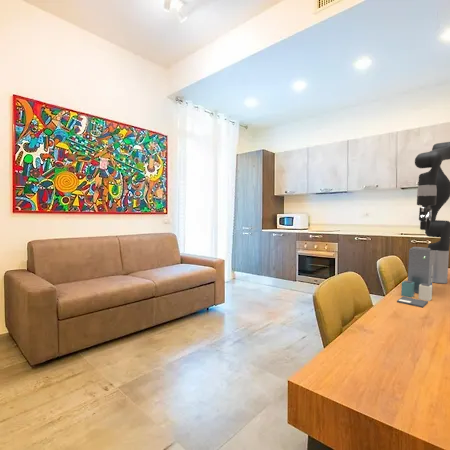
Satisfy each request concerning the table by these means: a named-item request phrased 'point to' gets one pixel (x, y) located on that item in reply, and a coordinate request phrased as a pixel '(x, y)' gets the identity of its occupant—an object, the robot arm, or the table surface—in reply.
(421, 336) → the table surface
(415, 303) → the pad
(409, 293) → the block
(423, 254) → the unit
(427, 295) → the block
